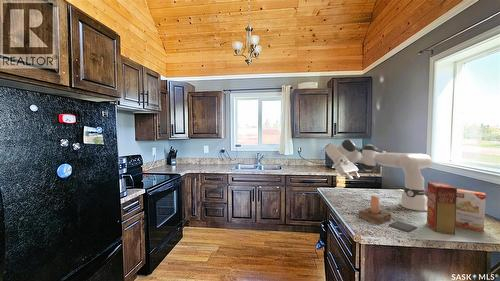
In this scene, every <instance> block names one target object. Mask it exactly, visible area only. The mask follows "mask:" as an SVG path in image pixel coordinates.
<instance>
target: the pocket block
mask: <svg viewBox="0 0 500 281" xmlns="http://www.w3.org/2000/svg"><path fill="white" fill-rule="evenodd" d="M358 218H359V219H362V220H365V221H367V222H371V223H372V224H376V225H383V224H385V223H387V222H390V221H392V213H390V212H386V211H383V210H380V209H379V214H378V215H376V214H373V213H371V207H367V208H364V209H361V210H359V211H358Z"/></svg>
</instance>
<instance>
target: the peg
mask: <svg viewBox="0 0 500 281" xmlns="http://www.w3.org/2000/svg"><path fill="white" fill-rule="evenodd" d="M370 208H371V213H373V214H376V215H378V214H379V210H380V196H378V195H371V196H370Z"/></svg>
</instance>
